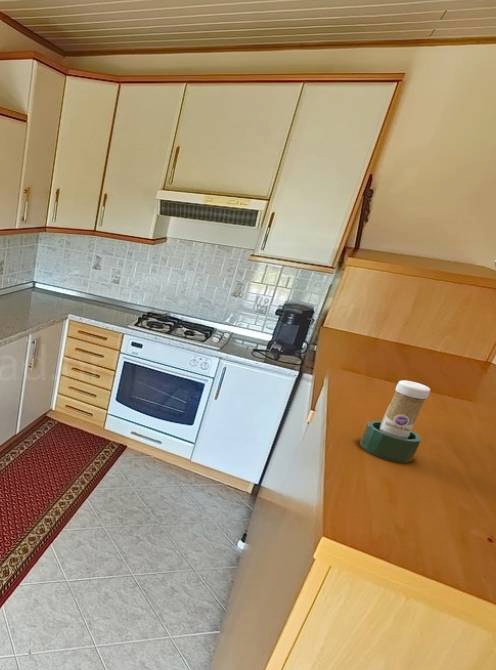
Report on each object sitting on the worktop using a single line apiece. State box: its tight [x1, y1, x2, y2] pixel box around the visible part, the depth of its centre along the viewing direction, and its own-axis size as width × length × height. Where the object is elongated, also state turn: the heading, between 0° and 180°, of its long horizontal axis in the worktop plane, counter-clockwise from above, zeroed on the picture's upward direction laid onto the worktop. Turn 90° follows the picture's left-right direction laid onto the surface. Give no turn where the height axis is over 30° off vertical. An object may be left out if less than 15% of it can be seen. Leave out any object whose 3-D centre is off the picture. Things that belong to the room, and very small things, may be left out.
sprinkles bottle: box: [379, 379, 431, 439], centre depth 90 cm, size 5×5×13 cm
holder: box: [359, 420, 423, 464], centre depth 92 cm, size 8×8×4 cm
